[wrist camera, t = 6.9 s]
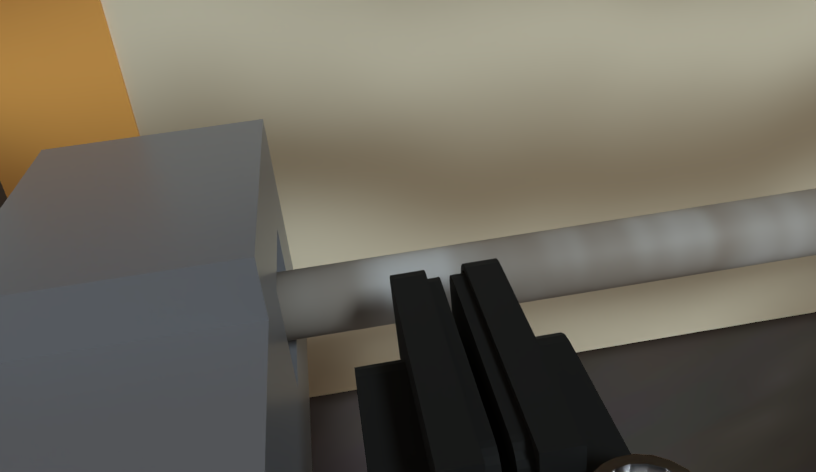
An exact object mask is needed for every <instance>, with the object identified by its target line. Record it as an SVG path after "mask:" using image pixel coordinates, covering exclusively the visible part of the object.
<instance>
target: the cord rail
mask: <svg viewBox="0 0 816 472" xmlns="http://www.w3.org/2000/svg"><path fill="white" fill-rule="evenodd" d="M259 119H263V121H264V126H265V131H266V136H267V141H268V146H269V151H270V156H271V161H272V166H273V171H274V176H275V181H276V186H277V191H278V196H279V201H280V206H281V211H282V216H283V221H284V226H285V231H286V236H287V241H288V245H289V250H290V255H291V260H292V265H293V270H288V271H281V272H277V275H276V290H277V295H278V300H279V304H280V309H281V313H282V318H283V323H284V327H285V332H286V336H287V341H291V340H297V339H303V338H307V358H308V381H309V398H310V397H315V396H321V395H327V394H333V393H339V392H345V391H351V390H357V386H356V378H355V369H354V367H360V366H366V365H372V364H378V363H384V362H389V361H395V360H400V354H399V347H398V339H397V332H396V324H395V316H394V309H393V301H392V294H391V286H390V275H395V274H401V273H408V272H414V271H420V270H425V273H426V275H427V279H429V278H435V277H440V279H441V282H442V285H443V288H444V291H445V294H446V296H447V299H448V302H449V305H450V308H451V311H452V306H451V294H450V281H449V278H450V275H453V274H460V273H461V265H462V264H463V263H469V262H475V261H482V260H488V259H494V258H496V259H498V261H499V262H500V264H501V266H502V268H503V271H504V273H505V275H506V277H507V279H508V281H509V283H510V285H511V287H512V289H513V291H514V293H515V295H516V298H517V300H518V302H519V304H520V306H521V308H522V310H523V312H524V314H525V316H526V318H527V320H528V322H529V325H530V327H531V329H532V331H533V333H534V335H535V337H536V336H542V335H548V334H554V333H559V332H562V333H564V334H565V335H566V336H567V338H568V339H569V341H570V343H571V344H572V346H573V348H574V350H575V352H582V351H588V350H594V349H599V348H605V347H611V346H617V345H623V344H629V343H635V342H641V341H647V340H653V339H659V338H665V337H670V336H676V335H682V334H688V333H694V332H700V331H706V330H712V329H718V328H724V327H730V326H736V325H741V324H747V323H753V322H759V321H765V320H771V319H777V318H783V317H789V316H795V315H801V314H807V313H812V312H816V0H0V208H1V207H2V205H3V204H4V202H5V201H6V200H7V198H8V197H9V195H10V194H11V193H12V191H13V190H14V188H15V187H16V185H17V184H18V183H19V181H20V180H21V178H22V177H23V176H24V174H25V173H26V171H27V170H28V168H29V167H30V166H31V164H32V163H33V161H34V160H35V159H36V157H37V156H38V154H39V153H40V151H41V150H45V149H52V148H59V147H66V146H73V145H81V144H88V143H95V142H102V141H109V140H116V139H123V138H131V137H138V136H145V135H152V134H159V133H166V132H173V131H181V130H188V129H195V128H202V127H209V126H216V125H224V124H231V123H238V122H245V121H252V120H259Z"/></svg>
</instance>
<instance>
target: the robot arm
mask: <svg viewBox="0 0 816 472" xmlns="http://www.w3.org/2000/svg"><path fill="white" fill-rule="evenodd" d="M449 281H450V294H451V306H452V311H451V308H450V305H449V302H448V299H447V296H446V294H445V291H444V288H443V285H442V282H441V279H440V277H435V278H429V279H427V275H426V273H425V270H420V271H414V272H408V273H401V274H395V275H390V286H391V294H392V301H393V309H394V316H395V324H396V332H397V339H398V347H399V354H400V360H395V361H389V362H384V363H378V364H372V365H366V366H360V367H354V369H355V378H356V386H357V394H358V401H359V409H360V417H361V424H362V432H363V440H364V447H365V455H366V463H367V471H368V472H690V471H689V470H688V469H686V468H684V467H682V466H680V465H678V464H677V463H675V462H673V461H671V460H667V459H664V458H660V457H657V456H653V455H640V454H631V453H630V452H629V450H628V448H627V446H626V444H625V442H624V440H623V439H622V437H621V435H620V433H619V431H618V429H617V428H616V426H615V424H614V422H613V420H612V418H611V416H610V415H609V413H608V411H607V409H606V407H605V405H604V404H603V402H602V400H601V398H600V396H599V394H598V392H597V391H596V389H595V387H594V385H593V383H592V381H591V380H590V378H589V376H588V374H587V372H586V370H585V368H584V367H583V365H582V363H581V361H580V359H579V357H578V356H577V354H576V352H575V350H574V348H573V346H572V344H571V343H570V341H569V339H568V338H567V336H566V335H565V334H564V333H562V332H559V333H554V334H548V335H542V336H536V337H535V335H534V333H533V331H532V329H531V327H530V325H529V322H528V320H527V318H526V316H525V314H524V312H523V310H522V308H521V306H520V304H519V302H518V300H517V298H516V295H515V293H514V291H513V289H512V287H511V285H510V283H509V281H508V279H507V277H506V275H505V273H504V271H503V268H502V266H501V264H500V262H499V261H498V259H496V258H494V259H488V260H482V261H475V262H469V263H463V264H462V265H461V273H460V274H453V275H450V278H449Z"/></svg>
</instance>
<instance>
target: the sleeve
mask: <svg viewBox="0 0 816 472" xmlns="http://www.w3.org/2000/svg"><path fill="white" fill-rule="evenodd" d="M288 270H293V265H292V260H291V255H290V250H289V245H288V241H287V236H286V231H285V226H284V221H283V216H282V211H281V206H280V201H279V196H278V191H277V186H276V181H275V176H274V171H273V166H272V161H271V156H270V151H269V146H268V141H267V136H266V131H265V126H264V121H263V119H259V120H252V121H245V122H238V123H231V124H224V125H216V126H209V127H202V128H195V129H188V130H181V131H173V132H166V133H159V134H152V135H145V136H138V137H131V138H123V139H116V140H109V141H102V142H95V143H88V144H81V145H73V146H66V147H59V148H52V149H45V150H41V151H40V153H39V154H38V156H37V157H36V159H35V160H34V161H33V163H32V164H31V166H30V167H29V168H28V170H27V171H26V173H25V174H24V176H23V177H22V178H21V180H20V181H19V183H18V184H17V185H16V187H15V188H14V190H13V191H12V193H11V194H10V195H9V197H8V198H7V200H6V201H5V202H4V204H3V205H2V207H1V208H0V472H313V469H312V447H311V425H310V403H309V381H308V358H307V338H303V339H297V340H291V341H287V336H286V332H285V327H284V323H283V318H282V313H281V309H280V304H279V300H278V295H277V290H276V275H277V272H281V271H288Z"/></svg>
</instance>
